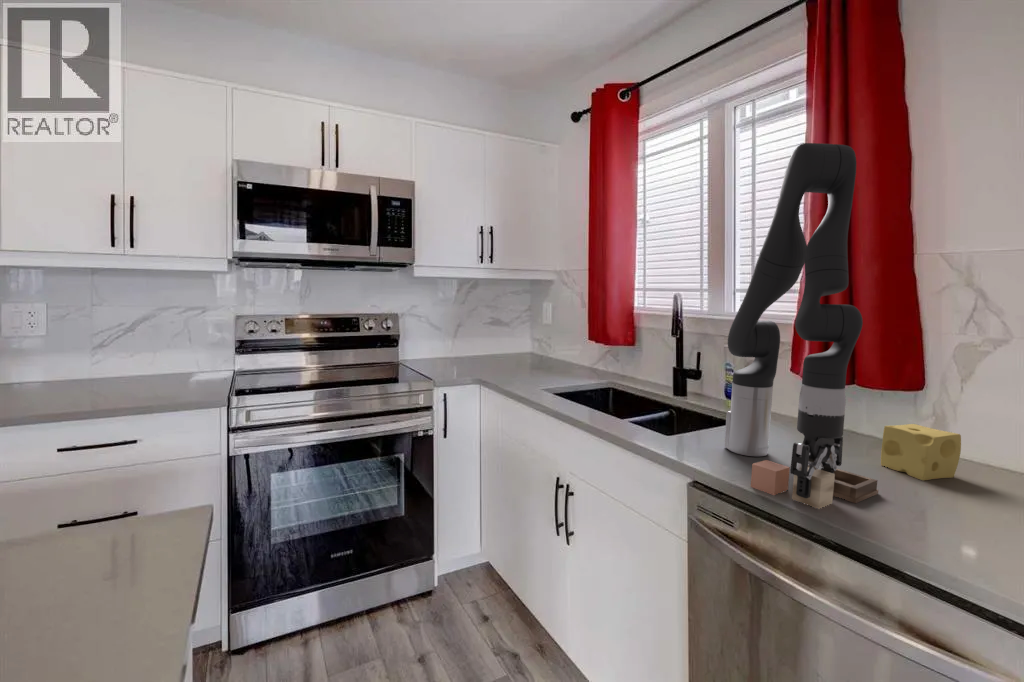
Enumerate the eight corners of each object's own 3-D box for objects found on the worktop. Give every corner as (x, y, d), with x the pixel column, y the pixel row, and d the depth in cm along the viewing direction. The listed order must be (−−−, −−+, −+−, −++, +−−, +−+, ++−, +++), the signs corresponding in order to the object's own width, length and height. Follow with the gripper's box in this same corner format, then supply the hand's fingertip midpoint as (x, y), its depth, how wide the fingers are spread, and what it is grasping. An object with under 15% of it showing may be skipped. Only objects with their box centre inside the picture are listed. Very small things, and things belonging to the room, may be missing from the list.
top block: (750, 487, 105) (752, 463, 105) (764, 482, 108) (766, 459, 107) (774, 495, 101) (775, 471, 100) (787, 490, 104) (789, 467, 103)
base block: (791, 500, 99) (794, 470, 98) (805, 494, 102) (808, 465, 101) (818, 509, 95) (821, 478, 94) (832, 504, 97) (834, 473, 97)
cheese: (923, 481, 111) (928, 436, 110) (876, 465, 121) (880, 423, 120) (958, 478, 113) (963, 434, 112) (909, 462, 124) (913, 421, 123)
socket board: (805, 486, 106) (806, 473, 105) (828, 478, 111) (829, 466, 111) (855, 503, 98) (857, 489, 98) (878, 493, 103) (879, 480, 103)
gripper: (819, 402, 103) (813, 479, 105) (780, 409, 95) (775, 492, 97) (860, 409, 97) (853, 492, 98) (823, 417, 89) (815, 507, 91)
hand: (814, 492), depth 98 cm, fingers open, 8 cm apart
